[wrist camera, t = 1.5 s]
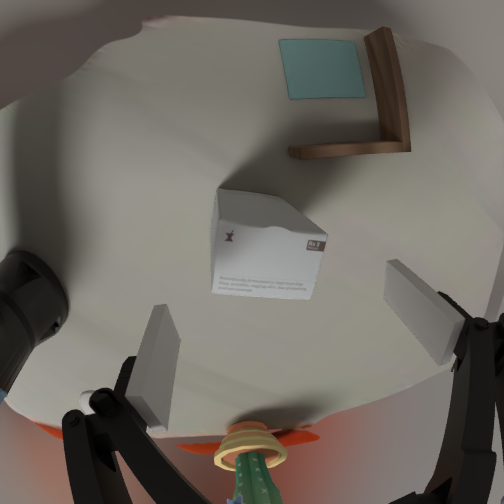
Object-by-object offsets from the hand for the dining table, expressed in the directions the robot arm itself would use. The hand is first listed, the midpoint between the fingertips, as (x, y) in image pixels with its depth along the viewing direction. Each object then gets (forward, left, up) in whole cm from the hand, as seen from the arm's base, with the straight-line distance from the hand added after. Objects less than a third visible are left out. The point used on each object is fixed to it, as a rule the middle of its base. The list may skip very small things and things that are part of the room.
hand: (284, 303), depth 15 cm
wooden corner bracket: (+13, +14, -20) cm, 27 cm away
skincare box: (0, 0, -20) cm, 20 cm away
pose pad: (+12, +17, -20) cm, 28 cm away
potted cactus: (-8, -47, -20) cm, 52 cm away
